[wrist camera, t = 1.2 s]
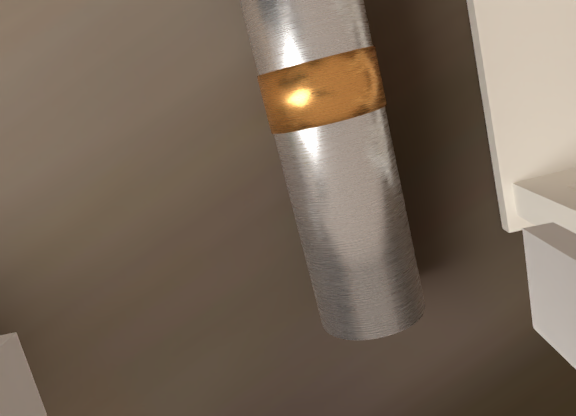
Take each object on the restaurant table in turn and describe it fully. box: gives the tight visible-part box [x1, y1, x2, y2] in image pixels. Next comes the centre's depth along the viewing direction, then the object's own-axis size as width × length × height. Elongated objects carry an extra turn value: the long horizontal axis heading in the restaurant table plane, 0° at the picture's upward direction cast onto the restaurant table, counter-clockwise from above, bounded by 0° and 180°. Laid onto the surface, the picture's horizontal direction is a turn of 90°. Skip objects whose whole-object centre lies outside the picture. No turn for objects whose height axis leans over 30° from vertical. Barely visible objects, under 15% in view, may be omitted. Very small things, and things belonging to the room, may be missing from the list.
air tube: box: [240, 0, 425, 340], centre depth 27 cm, size 26×6×6 cm, turn 14°
